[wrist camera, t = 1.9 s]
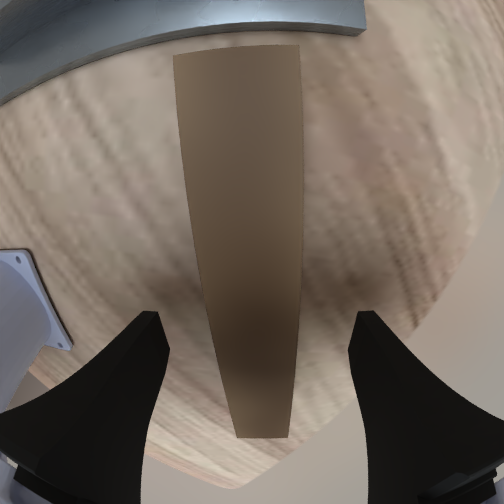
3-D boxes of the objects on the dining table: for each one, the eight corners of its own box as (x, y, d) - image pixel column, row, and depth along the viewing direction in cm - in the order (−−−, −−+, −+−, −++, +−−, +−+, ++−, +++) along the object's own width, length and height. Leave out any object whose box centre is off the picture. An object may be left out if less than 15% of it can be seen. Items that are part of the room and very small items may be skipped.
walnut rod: (241, 386, 18) (237, 438, 14) (205, 72, 9) (172, 55, 5) (285, 386, 17) (287, 437, 14) (286, 67, 9) (298, 45, 5)
